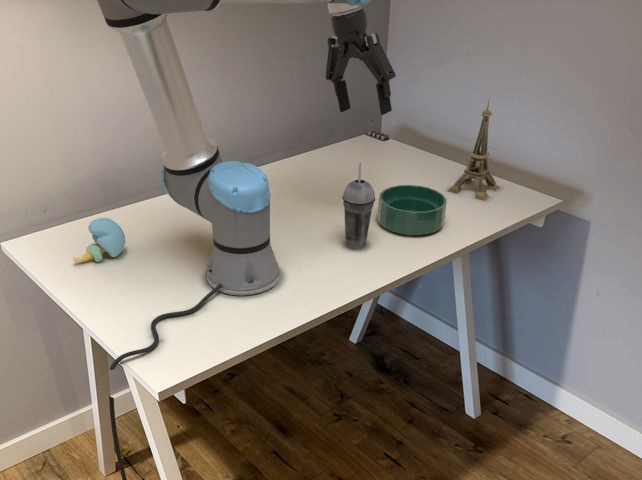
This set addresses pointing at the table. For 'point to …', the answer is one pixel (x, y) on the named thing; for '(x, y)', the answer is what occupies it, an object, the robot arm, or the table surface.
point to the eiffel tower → (482, 170)
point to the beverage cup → (357, 211)
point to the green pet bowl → (411, 209)
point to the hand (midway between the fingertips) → (365, 111)
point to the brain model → (103, 240)
